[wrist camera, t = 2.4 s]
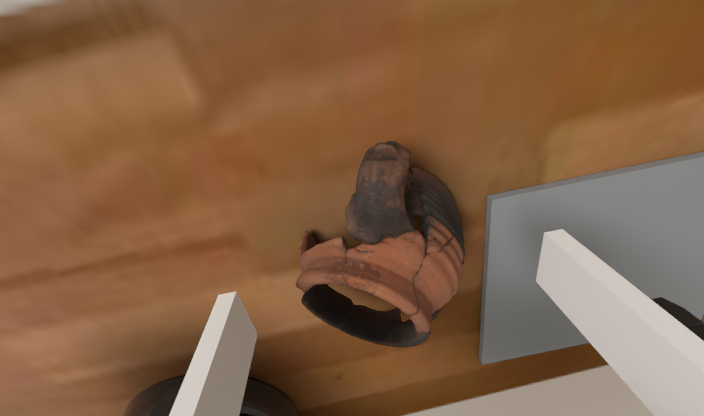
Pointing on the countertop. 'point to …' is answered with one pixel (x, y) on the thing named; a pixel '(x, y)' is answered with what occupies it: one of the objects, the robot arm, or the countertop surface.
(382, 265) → the broken terracotta jug
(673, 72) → the countertop surface
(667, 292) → the gray mat
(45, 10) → the countertop surface
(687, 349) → the robot arm
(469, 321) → the countertop surface
